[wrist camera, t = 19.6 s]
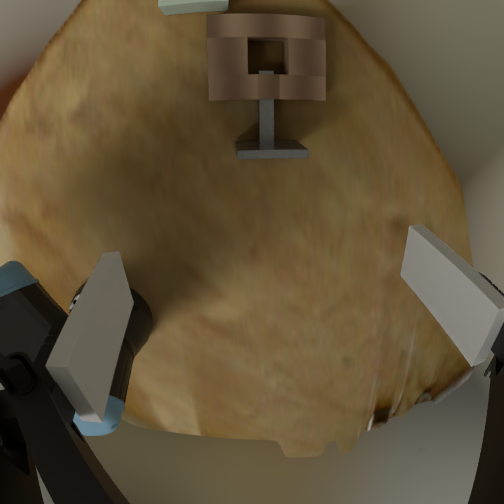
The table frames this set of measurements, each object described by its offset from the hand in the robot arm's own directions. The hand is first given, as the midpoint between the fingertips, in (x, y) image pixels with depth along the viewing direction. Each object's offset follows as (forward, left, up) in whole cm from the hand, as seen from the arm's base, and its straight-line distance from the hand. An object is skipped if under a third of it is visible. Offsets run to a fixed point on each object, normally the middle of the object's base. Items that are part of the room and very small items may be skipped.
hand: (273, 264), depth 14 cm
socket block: (+4, +12, -31) cm, 33 cm away
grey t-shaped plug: (+4, +4, -31) cm, 31 cm away
